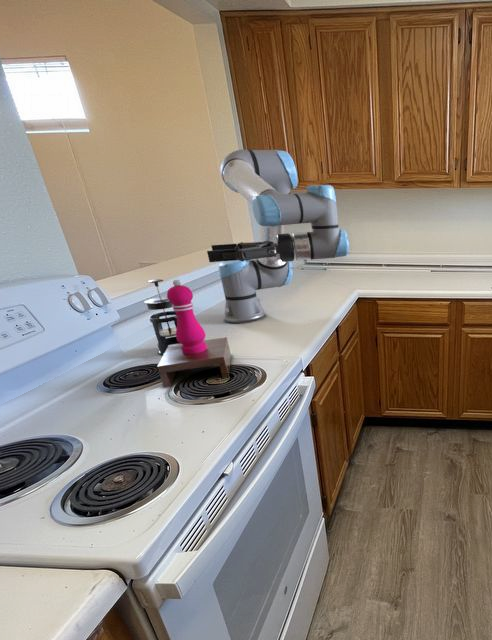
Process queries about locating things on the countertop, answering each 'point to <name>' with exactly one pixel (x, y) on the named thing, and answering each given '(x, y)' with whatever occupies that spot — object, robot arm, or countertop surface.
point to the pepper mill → (186, 320)
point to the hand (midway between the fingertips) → (210, 253)
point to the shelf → (194, 359)
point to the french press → (162, 320)
